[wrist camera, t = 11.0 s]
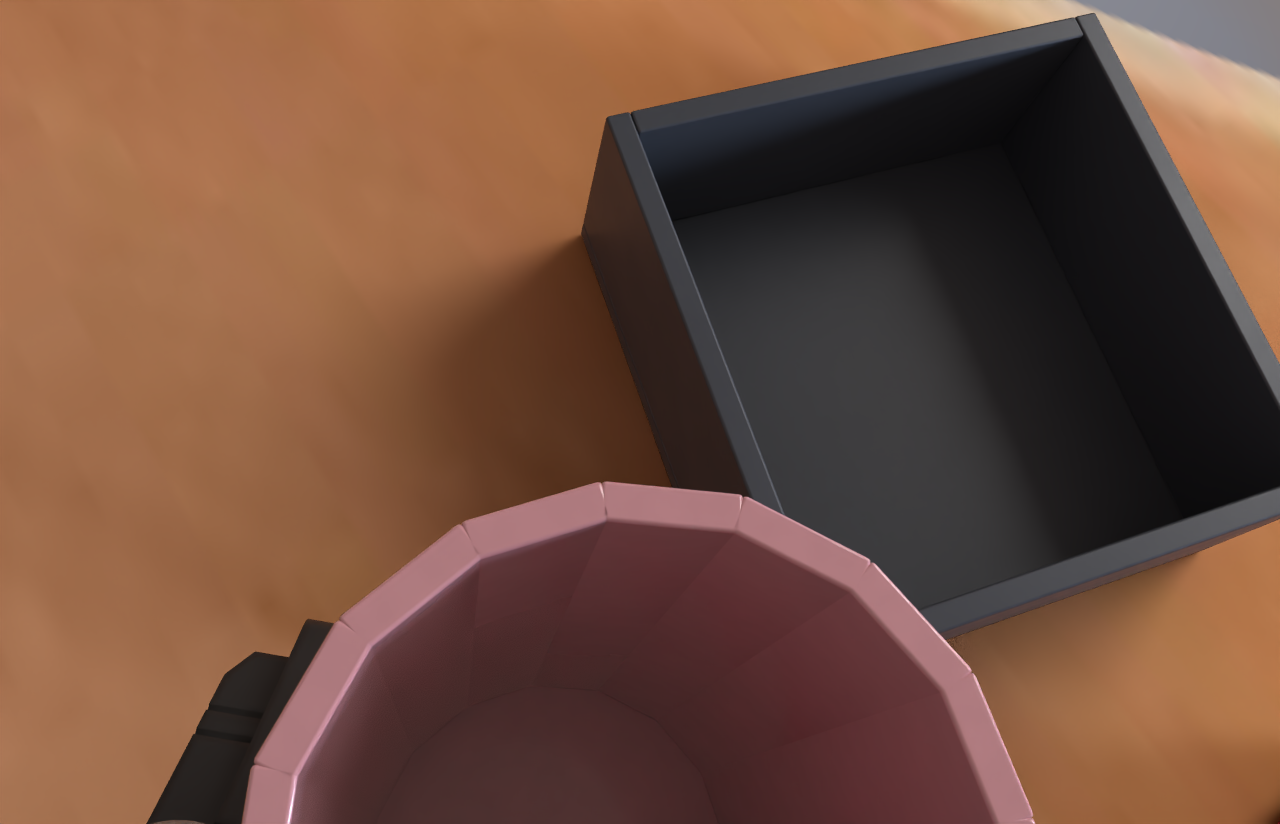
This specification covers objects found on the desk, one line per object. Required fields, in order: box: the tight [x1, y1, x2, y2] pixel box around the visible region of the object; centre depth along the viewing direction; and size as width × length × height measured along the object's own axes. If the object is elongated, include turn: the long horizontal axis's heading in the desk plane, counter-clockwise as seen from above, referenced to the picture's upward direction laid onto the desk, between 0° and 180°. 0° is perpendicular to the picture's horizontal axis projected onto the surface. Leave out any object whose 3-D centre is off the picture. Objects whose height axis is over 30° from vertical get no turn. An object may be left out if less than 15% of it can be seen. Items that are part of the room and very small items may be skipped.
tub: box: [581, 13, 1280, 640], centre depth 30 cm, size 13×13×6 cm
